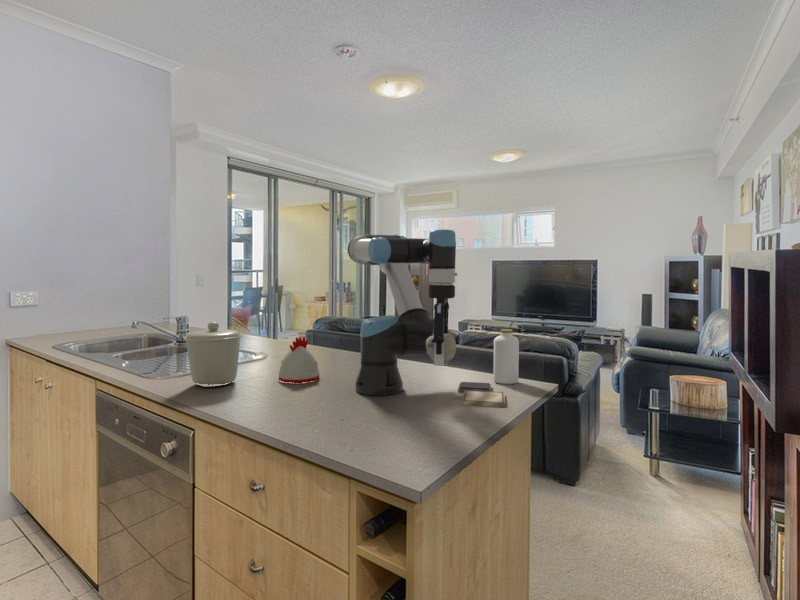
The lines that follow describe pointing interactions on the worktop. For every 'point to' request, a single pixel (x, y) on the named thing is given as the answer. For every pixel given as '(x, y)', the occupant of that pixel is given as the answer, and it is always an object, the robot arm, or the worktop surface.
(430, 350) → the decorative object
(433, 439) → the worktop surface
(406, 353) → the robot arm
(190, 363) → the canister
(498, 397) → the board
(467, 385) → the ink pad
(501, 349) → the potion bottle
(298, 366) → the grey knit hat
